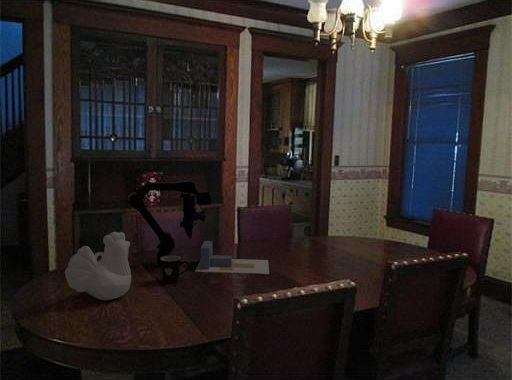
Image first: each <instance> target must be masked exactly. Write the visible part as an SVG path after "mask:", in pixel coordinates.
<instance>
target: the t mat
mask: <svg viewBox="0 0 512 380" xmlns="http://www.w3.org/2000/svg"><path fill="white" fill-rule="evenodd" d="M200 267H201V259H200V260H199V262H198V265H197V267H196V268H195V271H194V272H197V273H198V272H200V273H201V272H203V273H230V274H231V273H234V274H235V273H236V274H262V275H270V267H269V260H268V259H245V258H243V259H241V258H240V259H238V258H232V265H231V267H216V266H210V268H209V269H200Z"/></svg>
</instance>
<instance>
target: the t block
mask: <svg viewBox="0 0 512 380" xmlns="http://www.w3.org/2000/svg"><path fill="white" fill-rule="evenodd" d="M232 259H233V256H232V255H218V254H217V255H214V254H213V240H204V241H203V243H202V245H201V247H200V260H201V267H200V269H209V268H210V266H216V267H231V265H232Z"/></svg>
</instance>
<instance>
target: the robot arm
mask: <svg viewBox="0 0 512 380" xmlns="http://www.w3.org/2000/svg"><path fill="white" fill-rule="evenodd" d="M152 191H153V192H154V191H155V192H156V191H162V192H163V191H165V192H167V191H168V192H170V191H173V192H174V191H176V192H180V194H179V195H178V196H177V197H178V198H179V199H182V209H181V210H182V211H181V212H182V216H183V217H182V220H181V221H180V222H179V228H183V230H184V231H185V233H186V235H187V237H188V239H189V240H191V239H192V238H193V232H194V227H195V226H196V225H197V224H198V223H197V222H198V221H201V222H202V223H203V222H206V219H207V218H208V213H206V210H203V209H202V210H201V211H197V208H196V205H197V206H198V207H201V206H202V207H203V206H210V205H211V204H212V200H211V199H212V198H211V195H210V191H208V190H205V191H199V190H198V189H196V185H195V183H194V182H193V181H191V180H189V179H185V180H180V181H179V180H178V181H175V182H171V181H170V182H169V181H168V182H167V181H164V182H162V181H159V182H158V181H156V182H155V181H153V182H152V181H146V182H144V184H142V185H141V186H140V187H139V188H138V189H137V190H136V191H134V192H131V193H130V194H129V195H128V198H127V199H128V203H129V204H130V206H132V207H133V208H134V209H135V211H137V212H138V213H140V214H141V216H142V218H143V219H144V220H145V221H146V223H147V224H148V225H149V227H150V229H152V230H153V232H154V234H155V235H156V236H157V238H158V240H159V243H158V244H157V246H156V250H157V252H156V253H157V256H156V259H157V263H155V264H153V265H154V267H159V268H161V260H160V258H161V257H164V256H171V252H172V250H173V249H174V248H175V245H176V244H175V238H174V237H173V236H172V235H171V233H170V232H169V230H166V232H165V230H163V228H162V227H161V226H160V224H159V223H158V221H156V218H155V217H154V216H153V215H152V213H151V212H150V211H149V209H148V208H147V206H146V204H145V202H144V200H143V199H145V197H147V196H148V194H149V193H150V192H152ZM192 194H193V195H192ZM195 221H196V222H195Z"/></svg>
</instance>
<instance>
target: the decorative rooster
mask: <svg viewBox="0 0 512 380" xmlns="http://www.w3.org/2000/svg"><path fill="white" fill-rule="evenodd" d="M102 242H103V244H104V249H103V251H98V252H95V254H94V252H93V250H92V249H91V248H90V246H88V245H83V246H81V248H78V249H77V252H76V253H75V254H73V255H72V256H71V257H70V259H69V261H68V264H67V265H68V266H67V267H66V269H65V270H64V274H65V279H66V282H67V284H68V287H69V288H70V289H72V290H73V289H74V290H75V291H76V292H77V293H83V292H84V293H85V292H86V293H87V294H89V295H90V296H91V297H92V298H94V299H97V300H101V301H111V300H114V299H118V298H120V297H122V296H124V295H125V294H126V293H128V291H129V290H130V288H131V283H132V273H131V271H132V270H131V268H130V264H129V261H128V260H129V259H128V258H129V253H130V251H129V250H130V249H129V248H130V246H131V242H130V241H128V240H126V235H125V233H124V232H122V231H120V232H117V231H113V232H110V233H109V234H107V235H104V237H103V238H102ZM100 256H101V259H100V260H98V257H100Z"/></svg>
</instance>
